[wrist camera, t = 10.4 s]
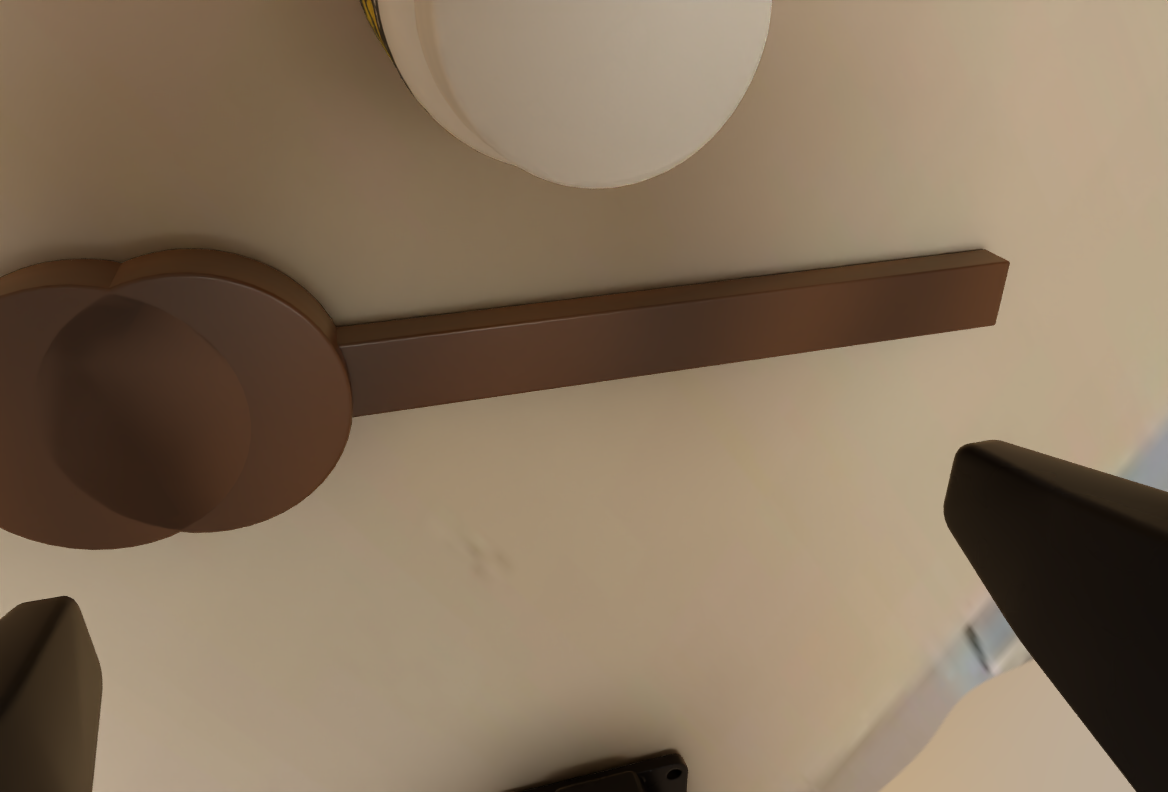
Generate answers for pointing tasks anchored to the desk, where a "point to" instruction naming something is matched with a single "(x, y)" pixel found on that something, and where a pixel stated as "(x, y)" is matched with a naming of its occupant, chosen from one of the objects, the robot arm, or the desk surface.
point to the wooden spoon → (352, 372)
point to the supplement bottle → (577, 78)
